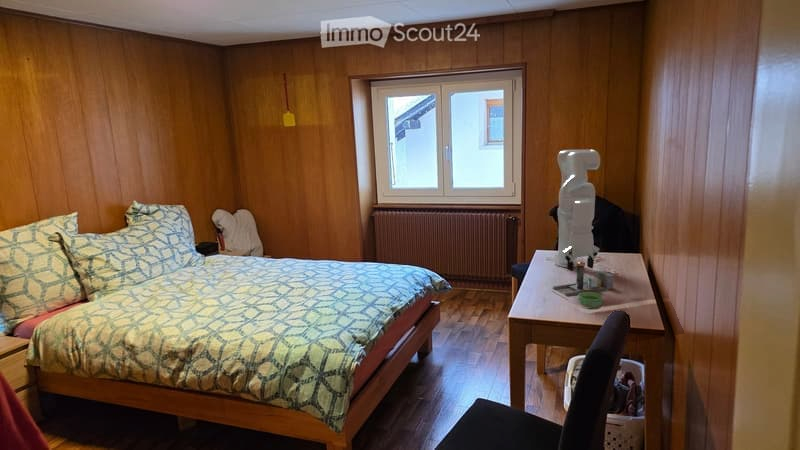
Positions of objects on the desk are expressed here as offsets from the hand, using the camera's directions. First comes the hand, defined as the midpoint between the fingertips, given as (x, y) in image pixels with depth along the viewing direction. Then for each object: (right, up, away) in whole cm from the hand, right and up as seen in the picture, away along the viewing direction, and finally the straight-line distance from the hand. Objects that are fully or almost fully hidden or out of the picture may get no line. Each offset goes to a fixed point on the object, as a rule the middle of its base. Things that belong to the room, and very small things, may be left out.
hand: (580, 268), depth 210 cm
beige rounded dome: (+8, -8, +3) cm, 12 cm away
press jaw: (+2, -9, +1) cm, 9 cm away
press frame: (+3, -10, +2) cm, 11 cm away
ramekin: (-1, -14, -14) cm, 20 cm away
